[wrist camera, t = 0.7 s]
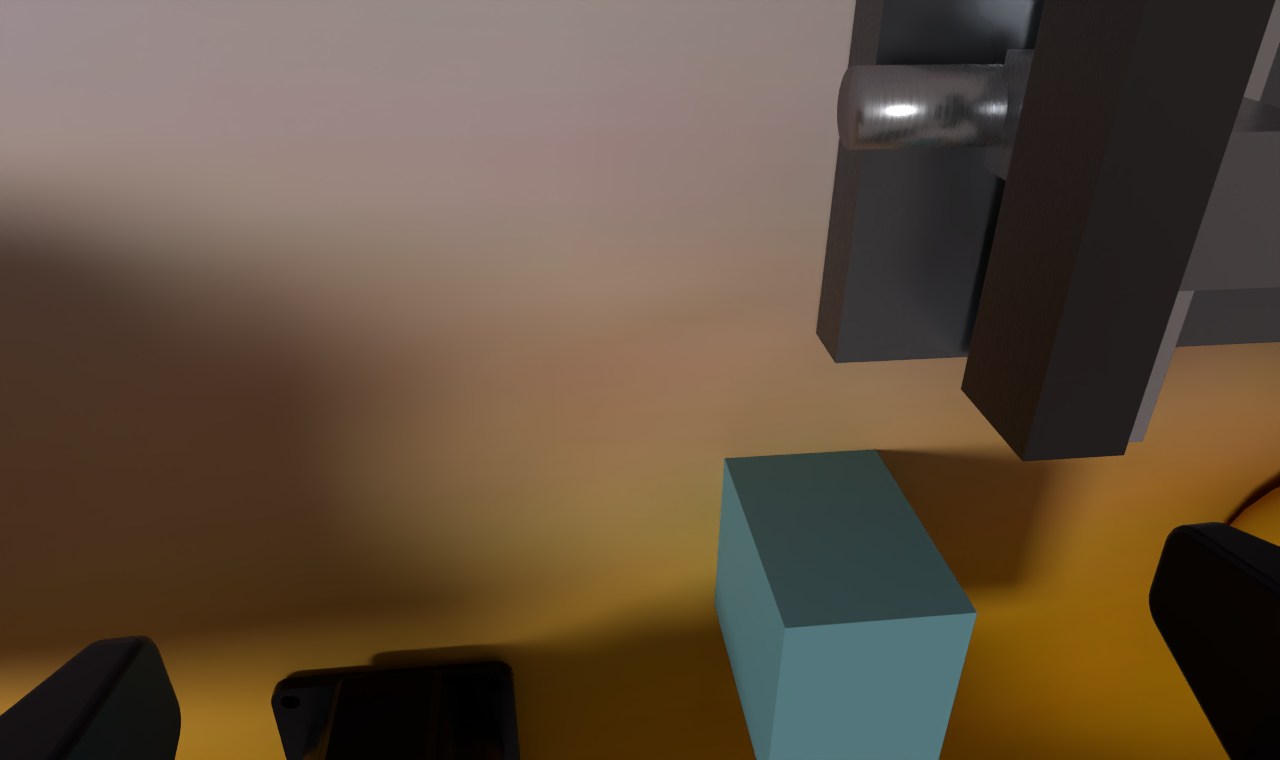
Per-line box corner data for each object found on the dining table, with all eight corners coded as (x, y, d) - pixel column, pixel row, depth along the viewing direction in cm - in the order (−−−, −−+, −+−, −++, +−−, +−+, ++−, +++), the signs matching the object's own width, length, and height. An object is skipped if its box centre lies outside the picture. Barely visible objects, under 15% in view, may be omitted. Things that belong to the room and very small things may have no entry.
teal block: (851, 593, 26) (934, 774, 21) (714, 604, 26) (765, 791, 20) (875, 448, 23) (976, 612, 18) (724, 457, 23) (785, 628, 18)
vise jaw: (1050, 356, 21) (1287, 573, 14) (794, 369, 20) (923, 602, 14) (1225, -296, 15) (1760, -419, 8) (869, -309, 14) (1158, -454, 8)
